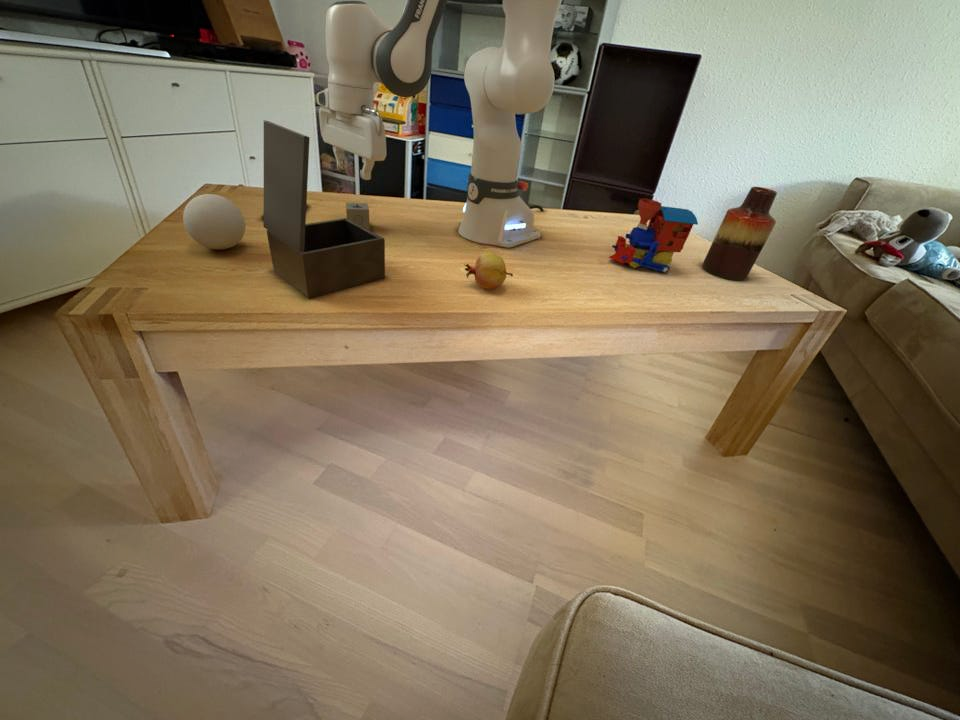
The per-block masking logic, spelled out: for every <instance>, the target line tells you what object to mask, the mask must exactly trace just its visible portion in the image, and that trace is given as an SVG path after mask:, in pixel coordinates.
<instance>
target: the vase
mask: <svg viewBox="0 0 960 720" xmlns="http://www.w3.org/2000/svg"><path fill="white" fill-rule="evenodd" d="M777 195H778V192H777V191H776V190H774V189H770V188H768V187H767V188H766V187H761V186H751V188H750V189H749V191H748V193H747V194H746V197H745V198H744V199H743V201H742V204H740V206H735V207H730V208H728V210H726V213H725V215H724V216H723V219H722V221H721V223H720V225H719V228H718V230H717V232H716V233H715V236H714V238H713V240H712V242H711V245H710V246H709V249H708V252H707V254H706V255H705V258H704V260H703V262H702V265H701V267H702V269H703V270H705V271H706V272H707V273H709V274H711V275H713V276H715V277H719V278H721V279H725V280H729V281H735V282H736V281H737V282H738V281H745V280H747V278H748V277H749V274H750V272H751V271H752V269H753V267H754V266H755V263H756V262H757V260H758V258H759V256H760V254H761V252H762V250H763V248H764V246H765V244H766V243H767V241H768V239H769V237H770V235H771V233H772V232H773V229H774V227H775V226H776V224H777V220H776V218H775V217H774V216H773V215H772V214H770V211H771V209H772V206H773V204H774V202H775V200H776V197H777Z"/></svg>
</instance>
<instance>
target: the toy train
mask: <svg viewBox="0 0 960 720" xmlns="http://www.w3.org/2000/svg"><path fill="white" fill-rule="evenodd" d="M637 208H638V209H637V210H638V214H639V217H640V220H639V222H638V224H637V225H636V227H633V228H632V230H631V231H630V233H626V234H625V237H624V236H623V235H618V236H617V239H616V243H615V244H612V246H611V248H613V249H614V252H615V253H614V254H612V255H610V256H608V258H609V259H611V260H614V261H616V262H618V263H621V264H625V263H626V264H628V265H629V266H630V268H634V269H637V268H638V267H644V268H648V269H651V270H654V271H657V272H662V273H664V274H667V273H668V272H669V270H670V265H671V263H672V262H673V255H674V254H675V253H681V252H682V250H683V249H684V246H685V243H686V241H687V239H688V237H689V236H690V233H691V230H692V229H693V226H694V225H699V222H698V219H697V216H696V215H695V213H694V212H693V211H692V210H690V209H688V208H680V207H671V206H663V205H662V202H660V201H657V200H655V199H652V198H651V199H650V198H639V200H638V203H637ZM648 221H649V222H648ZM647 223H648V224H647ZM627 240H628V243H627Z"/></svg>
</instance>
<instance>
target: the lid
mask: <svg viewBox="0 0 960 720" xmlns="http://www.w3.org/2000/svg"><path fill="white" fill-rule="evenodd" d="M310 138H311V137H309V136H308V135H305V134H302V133H300V132H297V131H294V130H292V129H290V128H287V127H284V126H282V125H279V124H277V123H275V122H271V121H269V120H265V119H264V120H263V215H264V220H263V228H264V229H266V231H267V230H269V231H270V232H272V233H273V234H275V235H276V236H278V237H279V238H280V239H282V240H283V241H285V242H286V243H288V244H289V245H291V246H292V247H294V248H295V249H297V250H298V251H299V252H304V246H305V225H306V224H307V223H306V222H307V205H306V203H307V200H308V181H309V160H310V159H309V158H310ZM307 204H308V203H307Z"/></svg>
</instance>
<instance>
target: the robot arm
mask: <svg viewBox="0 0 960 720" xmlns="http://www.w3.org/2000/svg"><path fill="white" fill-rule="evenodd" d="M562 2H563V0H502V10H503V12H504V16H505V17H504V18H505V24H504V34H503V40H502V44H501V46H487V47H485V48H482V49H480V50H478V51H476V52H473V54H472V55H471V56H470V57H469V58H468V60H467V61H466V65H465V67H464V72H463V73H464V74H463V80H464V85H465V88H466V91H467V93H468V96H469V99H470V108H471V116H472V127H473V130H472V131H473V145H472V155H471V165H470V166H471V167H470V172H469V174H468V177H467V186H466V191H467V193H466V194H467V198H466V202H465V204H464V206H463V208H462V212H463V215H462V219H461V222H460V225H459V228H458V230H457V232H458V234H459V235H460V236H461V237H462V238H464V239H467V240H469V241H472V242H475V243H479V244H483V245H484V244H485V245H493V246H498V247H502V248H509V249H510V248H513V247H516V246H519V245H523V244H525V243H528V242H532V241H534V240H538V239H540V238H541V235H542V234H541V232H540V231H539V230H538V229H536V228H535V227H534V224H535V215H534V212H533V210H534V209H538V210H540V212H544V208H543V207H542V206H541V205H538V204H533V205H530V206H529V205H528V204H527V203H526V202H525V201H524V200H523V199H522V197H521V196H520V190H521V191H522V192H526V191H527V190H528V189H529V183H528V182H526V181H523V180H520V181H518V172H519V166H520V160H521V154H522V140H521V138H520V136H519V133H518V129H517V121H516V115H527V114H535V113H537V112H539V111H541V110H543V109H544V108H545V107H546V105H547V104H548V103H549V102H550V100H551V98H552V95H553V93H554V91H555V90H554V89H555V83H556V82H555V81H556V79H555V71H554V68H553V65H552V62H551V49H552V39H553V33H554V28H555V24H556V21H557V16H558V14H559V11H560V8H561V4H562ZM447 3H448V0H406V2H405V5H404V8H403V10H402V14H401V16H400V19H399V21H398V22H397V23H396V25H395V26H394V27H392V26H391V25H390V24H389V23H387V22H386V21H384V20H383V19H382V18H381V17H380V16H379V15H378V14H376V12H375V11H374V10H373V9H372V8H371V7H370V6H369V4H368V3H367V2H364V1H361V0H341V1H335V2H333V3H332V4H331V5H329V7H328V8H327V11H326V16H325V32H324V33H325V54H326V55H325V56H326V59H327V63H328V76H327V87H326V88H325V89H323V90H321V91H319V92H317V93H316V103H317V105H319V110H318V119H319V129H320V135H321V138H322V140H323V143H326V144H329V145H331V146H332V151H333V154H334V158H335V159H336V167H337V169H340V170H347V169H348V161H347V160H346V157H345V154H344V152H345V151H346V152H348V153H351V154H353V155H356V156H358V157H361V161H362V163H363V165H362V169H360V170H359V174H360V175H359V177H360V178H361V179H362V180H365V181H369V180H371V179H372V171H373V168H374V166H375V162H384V161H385V160H386V157H387V137H386V129H385V124H384V122H383V117H382V116H381V114H380V111H379V110H377V109H376V108H374V86H375V83H379V84H382V85H383V86H384V87H385V88H386V89H387V91H389V92H390V93H392V94H393V95H395V96H397V97H400V98H412V97H415V96H417V95H418V94H420V93H421V92H422V91H423V90H425V88H426V87H427V85H428V84H429V81H430V78H431V75H432V66H433V45H434V40H435V37H436V33H437V31H438V28H439V26H440V22H441V20H442V18H443V14H444V12H445V8H446V5H447Z"/></svg>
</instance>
